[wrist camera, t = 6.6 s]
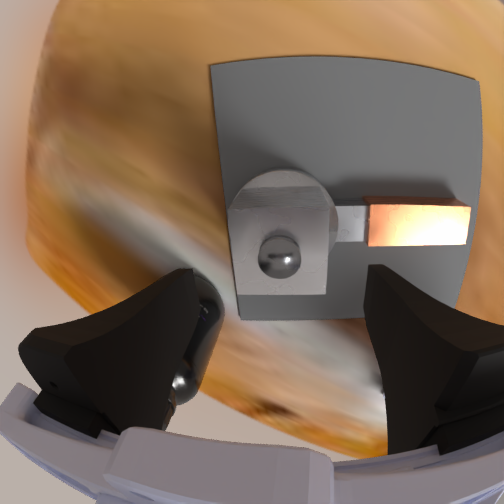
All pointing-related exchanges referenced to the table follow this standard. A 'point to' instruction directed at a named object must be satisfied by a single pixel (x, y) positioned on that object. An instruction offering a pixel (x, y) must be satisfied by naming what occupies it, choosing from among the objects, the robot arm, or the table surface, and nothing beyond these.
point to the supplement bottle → (197, 348)
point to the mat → (354, 159)
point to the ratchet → (380, 214)
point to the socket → (280, 240)
